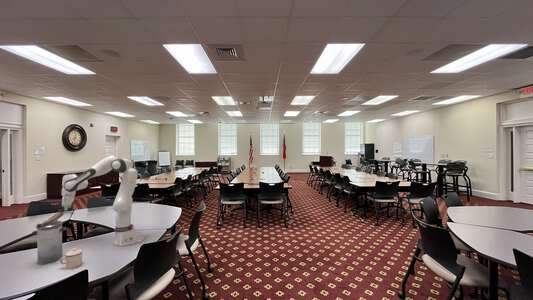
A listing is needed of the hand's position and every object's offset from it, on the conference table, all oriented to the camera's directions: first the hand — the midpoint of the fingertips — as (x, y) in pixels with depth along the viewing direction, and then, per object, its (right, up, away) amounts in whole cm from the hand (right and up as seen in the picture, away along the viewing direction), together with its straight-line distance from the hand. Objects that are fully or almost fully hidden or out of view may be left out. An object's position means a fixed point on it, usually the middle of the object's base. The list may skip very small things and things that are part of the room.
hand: (67, 209), depth 196 cm
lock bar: (+8, -3, -21) cm, 23 cm away
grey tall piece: (+13, -29, -29) cm, 43 cm away
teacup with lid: (+35, -30, -37) cm, 59 cm away
